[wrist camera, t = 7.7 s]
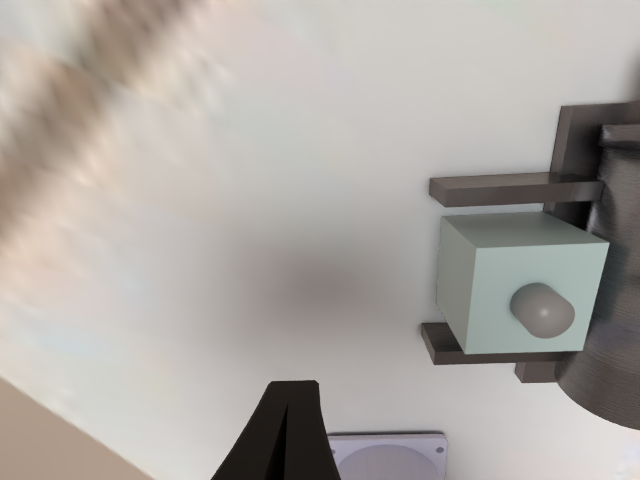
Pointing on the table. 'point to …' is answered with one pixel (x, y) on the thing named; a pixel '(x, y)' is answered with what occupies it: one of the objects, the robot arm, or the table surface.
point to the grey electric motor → (595, 218)
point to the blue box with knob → (517, 282)
